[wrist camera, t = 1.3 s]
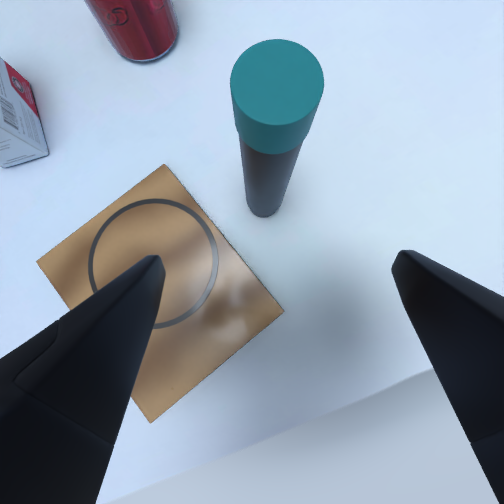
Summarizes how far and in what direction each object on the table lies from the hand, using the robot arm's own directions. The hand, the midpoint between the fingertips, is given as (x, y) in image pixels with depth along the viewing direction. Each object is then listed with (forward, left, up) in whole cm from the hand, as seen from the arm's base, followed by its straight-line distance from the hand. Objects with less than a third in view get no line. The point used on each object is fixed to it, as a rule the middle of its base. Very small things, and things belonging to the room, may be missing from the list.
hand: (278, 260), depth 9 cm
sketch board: (+5, +8, -13) cm, 16 cm away
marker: (+5, -4, -13) cm, 14 cm away
